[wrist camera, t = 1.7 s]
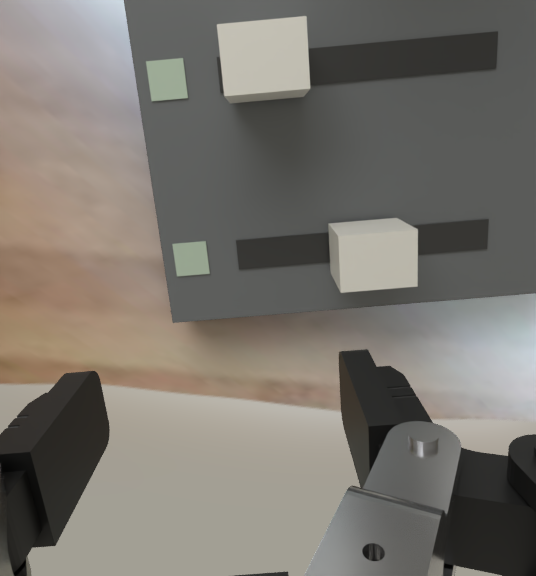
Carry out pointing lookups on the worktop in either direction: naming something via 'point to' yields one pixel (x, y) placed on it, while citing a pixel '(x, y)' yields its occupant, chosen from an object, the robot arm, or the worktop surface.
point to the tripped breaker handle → (373, 254)
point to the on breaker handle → (264, 59)
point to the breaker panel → (341, 151)
